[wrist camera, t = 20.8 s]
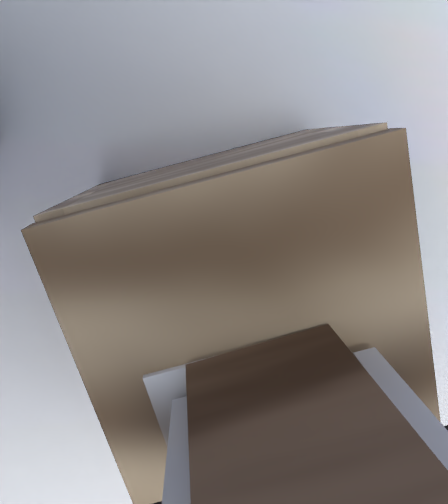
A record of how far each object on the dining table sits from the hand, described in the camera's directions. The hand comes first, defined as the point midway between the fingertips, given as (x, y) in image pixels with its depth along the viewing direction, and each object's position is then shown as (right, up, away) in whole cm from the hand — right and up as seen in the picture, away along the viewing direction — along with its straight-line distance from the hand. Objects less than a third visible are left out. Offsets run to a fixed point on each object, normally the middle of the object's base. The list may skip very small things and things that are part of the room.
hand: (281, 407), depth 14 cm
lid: (0, 0, +1) cm, 2 cm away
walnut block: (0, 0, 0) cm, 0 cm away
